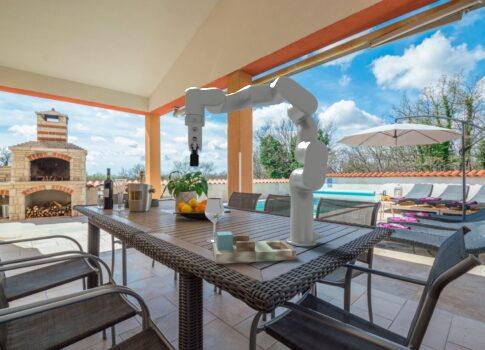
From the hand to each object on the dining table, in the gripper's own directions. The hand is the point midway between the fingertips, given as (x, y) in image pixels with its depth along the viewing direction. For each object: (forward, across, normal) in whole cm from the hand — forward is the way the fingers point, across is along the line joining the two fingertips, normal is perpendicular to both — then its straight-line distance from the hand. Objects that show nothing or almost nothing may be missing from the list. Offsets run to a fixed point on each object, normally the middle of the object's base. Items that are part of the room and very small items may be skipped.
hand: (194, 166), depth 94 cm
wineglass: (+31, +8, -9) cm, 34 cm away
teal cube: (+28, -12, -10) cm, 33 cm away
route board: (+31, -12, -20) cm, 39 cm away
